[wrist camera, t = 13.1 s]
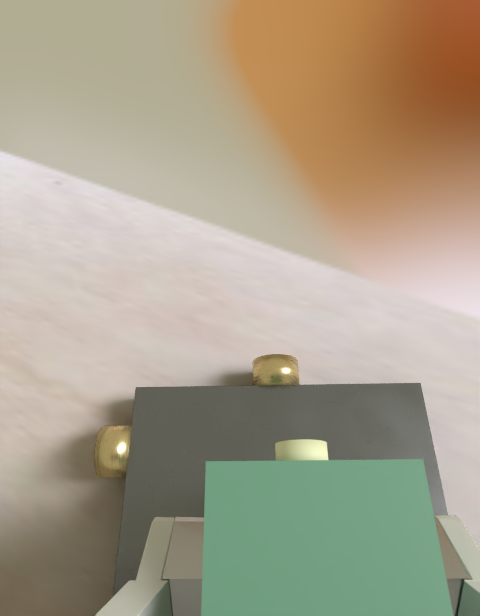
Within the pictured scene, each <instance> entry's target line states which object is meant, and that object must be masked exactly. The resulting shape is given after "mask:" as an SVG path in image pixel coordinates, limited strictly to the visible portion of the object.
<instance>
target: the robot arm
mask: <svg viewBox="0 0 480 616" xmlns="http://www.w3.org/2000/svg"><path fill="white" fill-rule="evenodd" d="M434 518H435V523H436V528H437V533H438V538H439V543H440V549H441V554H442V559H443V564H444V569H445V574H446V579H447V585H448V590H449V595H450V600H451V605H452V610H453V615H454V616H480V550H479V548H478V547H477V545H476V544H475V542H474V540H473V539H472V537H471V536H470V534H469V532H468V531H467V529H466V528H465V526H464V524H463V523H462V521H461V519H460V518H459V517H457V516H456V515H437V516H434ZM203 539H204V517H155V518H154V520H153V521H152V524H151V527H150V531H149V534H148V538H147V542H146V545H145V549H144V552H143V556H142V559H141V563H140V567H139V570H138V574H137V577H136V580H129V581H128V582H127V583H126V584H125V585H124V586H123V587H122V588H121V589H120V590H119V591H118V592H117V593H116V594H115V595H114V596H113V597H112V598H111V599H110V601H109V602H108V603H107V604H106V605H105V606H104V607H103V608H102V609H101V610H100V611H99V612H98V613H97V614H96V615H95V616H201V605H202V572H203Z"/></svg>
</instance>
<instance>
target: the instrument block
mask: <svg viewBox="0 0 480 616" xmlns="http://www.w3.org/2000/svg"><path fill="white" fill-rule="evenodd" d="M275 452H276V461H206V473H205V506H204V539H203V572H202V605H201V616H454V615H453V610H452V605H451V600H450V595H449V590H448V585H447V579H446V574H445V569H444V564H443V559H442V554H441V549H440V543H439V538H438V533H437V528H436V523H435V518H434V513H433V507H432V502H431V497H430V492H429V487H428V482H427V477H426V471H425V466H424V461H423V459H394V460H328V450H327V442H325V441H322V440H312V439H298V440H286V441H281V442H277V443H275Z"/></svg>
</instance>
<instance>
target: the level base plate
mask: <svg viewBox="0 0 480 616" xmlns="http://www.w3.org/2000/svg"><path fill="white" fill-rule="evenodd" d="M298 439H312V440H322V441H325V442H327V450H328V460H394V459H423V461H424V466H425V471H426V477H427V482H428V487H429V492H430V497H431V502H432V507H433V513H434V516H437V515H448V513H447V508H446V503H445V499H444V494H443V489H442V484H441V479H440V475H439V470H438V465H437V460H436V456H435V451H434V446H433V441H432V436H431V432H430V427H429V422H428V417H427V412H426V408H425V403H424V398H423V393H422V388H421V384H420V383H392V384H326V385H299V373H298V360H297V359H296V358H295V357H292V356H289V355H282V354H272V355H265V356H261V357H258V358H256V359H255V360H253V386H195V387H136V390H135V400H134V409H133V418H132V425H113V426H103V427H102V428H101V429H100V431H99V434H98V436H97V440H96V444H95V451H94V465H95V471H96V473H97V475H98V476H99V477H126V482H125V491H124V500H123V509H122V518H121V527H120V536H119V545H118V554H117V563H116V573H115V582H114V591H113V596H114V595H115V594H116V593H117V592H118V591H119V590H120V589H121V588H122V587H123V586H124V585H125V584H126V583H127V582H128V581H129V580H136V577H137V574H138V570H139V567H140V563H141V559H142V556H143V552H144V549H145V545H146V542H147V538H148V534H149V531H150V527H151V524H152V521H153V520H154V518H155V517H204V506H205V473H206V461H276V452H275V443H277V442H281V441H286V440H298Z"/></svg>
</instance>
